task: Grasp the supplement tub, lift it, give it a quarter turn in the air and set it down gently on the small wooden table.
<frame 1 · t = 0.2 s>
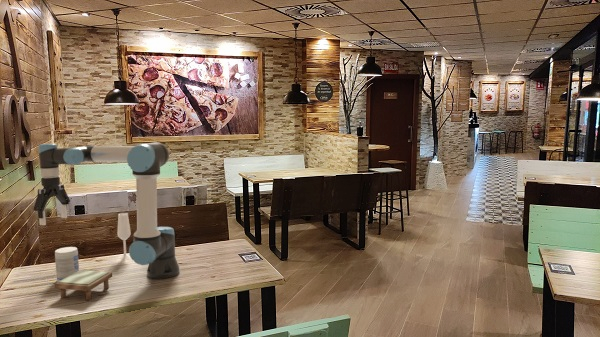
hand: (53, 221, 205), 27 cm above the table, fingers open, 13 cm apart
supplement tub: (68, 280, 205), on the table
small wooden table: (85, 293, 190), on the table
champagne flute: (125, 257, 237), on the table
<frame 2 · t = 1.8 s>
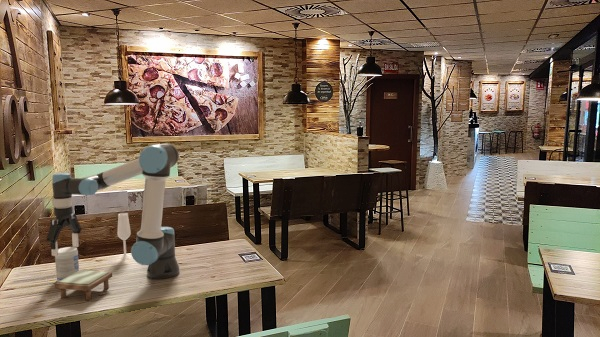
hand: (65, 251, 203), 14 cm above the table, fingers open, 13 cm apart
nothing on the table moved.
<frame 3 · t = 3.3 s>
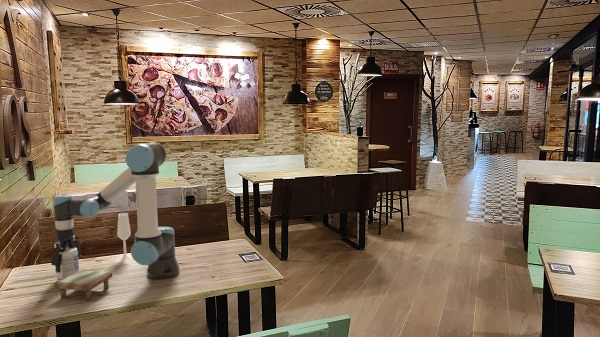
hand: (67, 274, 205), 3 cm above the table, fingers closed on supplement tub, 9 cm apart
supplement tub: (68, 280, 205), on the table, touching gripper
everything else where it was.
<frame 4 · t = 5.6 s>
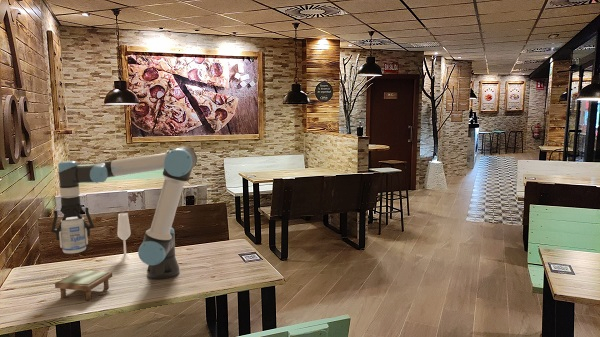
hand: (74, 245, 195), 19 cm above the table, fingers closed on supplement tub, 9 cm apart
supplement tub: (74, 251, 196), point 16 cm above the table, touching gripper
everything else where it was.
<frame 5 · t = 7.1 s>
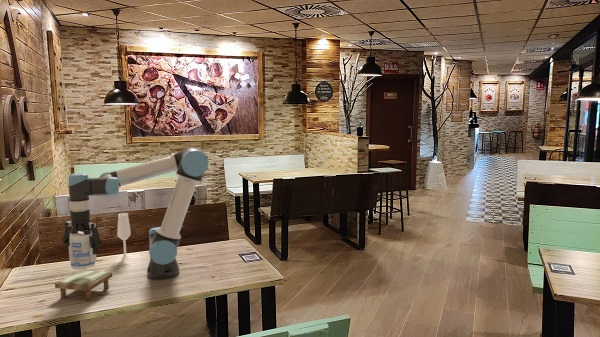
hand: (83, 260, 188), 15 cm above the table, fingers closed on supplement tub, 9 cm apart
supplement tub: (83, 266, 188), point 12 cm above the table, touching gripper
everything else where it was.
when the fingers open (12 cm above the table, at t = 8.2 s): supplement tub drops 1 cm, resting on small wooden table.
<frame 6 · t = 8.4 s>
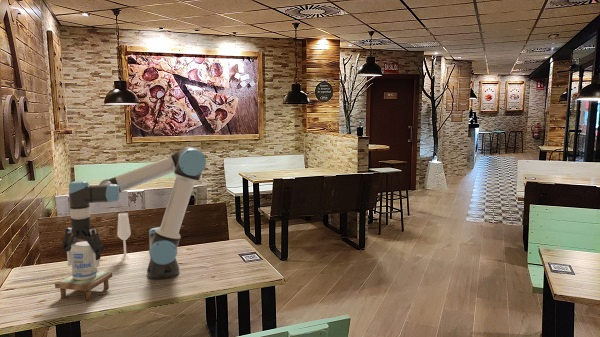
hand: (83, 265, 188), 12 cm above the table, fingers open, 12 cm apart
supplement tub: (85, 277, 189), point 7 cm above the table, touching small wooden table
everything else where it was.
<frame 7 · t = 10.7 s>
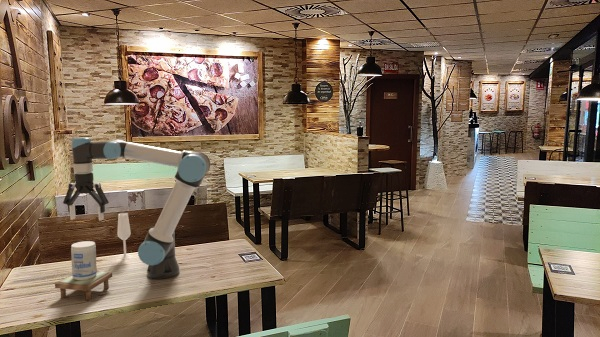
hand: (87, 219, 194), 31 cm above the table, fingers open, 13 cm apart
nothing on the table moved.
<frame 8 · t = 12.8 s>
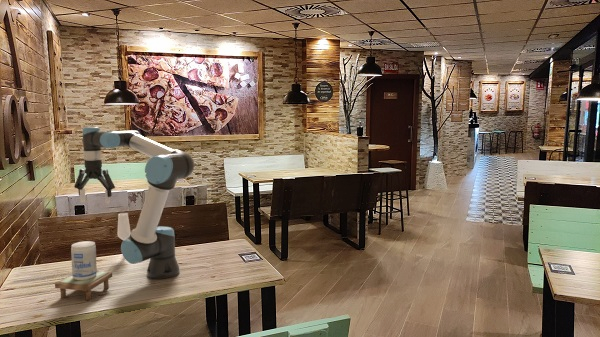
hand: (95, 203, 211), 35 cm above the table, fingers open, 13 cm apart
nothing on the table moved.
at the end: supplement tub inside the target area on the small wooden table (0.3 cm from its centre), point 7.2 cm above the small wooden table's base; supplement tub tilted 0°; the gripper is holding nothing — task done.
